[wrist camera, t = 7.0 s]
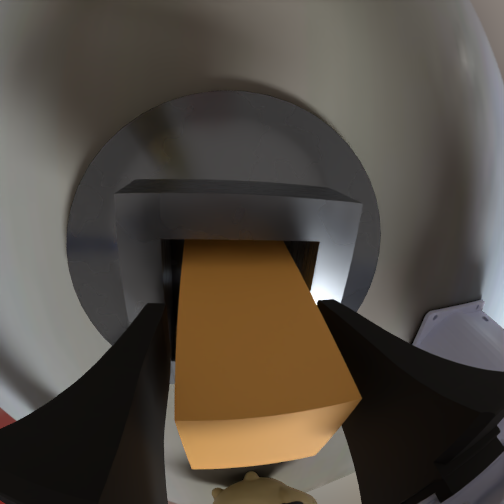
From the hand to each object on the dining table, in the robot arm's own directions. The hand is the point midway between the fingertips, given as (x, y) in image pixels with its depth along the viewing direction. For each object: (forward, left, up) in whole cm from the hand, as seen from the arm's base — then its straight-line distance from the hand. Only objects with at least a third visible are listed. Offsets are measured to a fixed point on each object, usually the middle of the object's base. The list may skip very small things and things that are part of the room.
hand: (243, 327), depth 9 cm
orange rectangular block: (0, 0, -4) cm, 4 cm away
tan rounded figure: (-4, +29, -5) cm, 30 cm away
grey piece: (0, +4, -5) cm, 6 cm away
